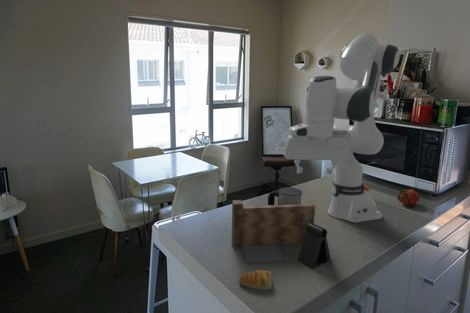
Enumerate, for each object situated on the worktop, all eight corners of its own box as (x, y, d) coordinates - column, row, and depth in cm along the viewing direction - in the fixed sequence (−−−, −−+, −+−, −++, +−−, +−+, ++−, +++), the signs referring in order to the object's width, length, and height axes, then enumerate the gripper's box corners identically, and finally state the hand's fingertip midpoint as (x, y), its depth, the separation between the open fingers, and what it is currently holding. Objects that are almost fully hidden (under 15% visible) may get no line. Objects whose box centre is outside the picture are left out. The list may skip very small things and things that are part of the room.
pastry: (238, 290, 94) (239, 277, 93) (239, 276, 101) (239, 265, 100) (272, 291, 94) (273, 279, 93) (271, 278, 100) (271, 266, 100)
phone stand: (311, 268, 105) (314, 232, 103) (297, 260, 110) (299, 225, 108) (330, 260, 110) (334, 226, 108) (317, 252, 115) (319, 219, 112)
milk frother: (301, 222, 139) (303, 188, 136) (296, 239, 124) (299, 201, 121) (267, 218, 143) (268, 184, 140) (258, 234, 128) (260, 196, 125)
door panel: (309, 238, 125) (312, 197, 122) (314, 245, 120) (317, 202, 117) (231, 242, 121) (232, 200, 117) (233, 249, 116) (234, 205, 113)
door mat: (275, 245, 120) (275, 244, 120) (284, 261, 109) (284, 260, 109) (241, 247, 118) (241, 245, 118) (247, 263, 107) (247, 262, 107)
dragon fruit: (399, 210, 159) (409, 208, 167) (417, 204, 153) (426, 202, 161) (391, 193, 161) (401, 192, 169) (408, 186, 156) (418, 185, 164)
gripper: (347, 129, 108) (343, 171, 111) (284, 127, 107) (281, 170, 110) (355, 132, 102) (350, 177, 105) (287, 130, 101) (284, 175, 104)
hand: (314, 173), depth 107 cm, fingers open, 8 cm apart
